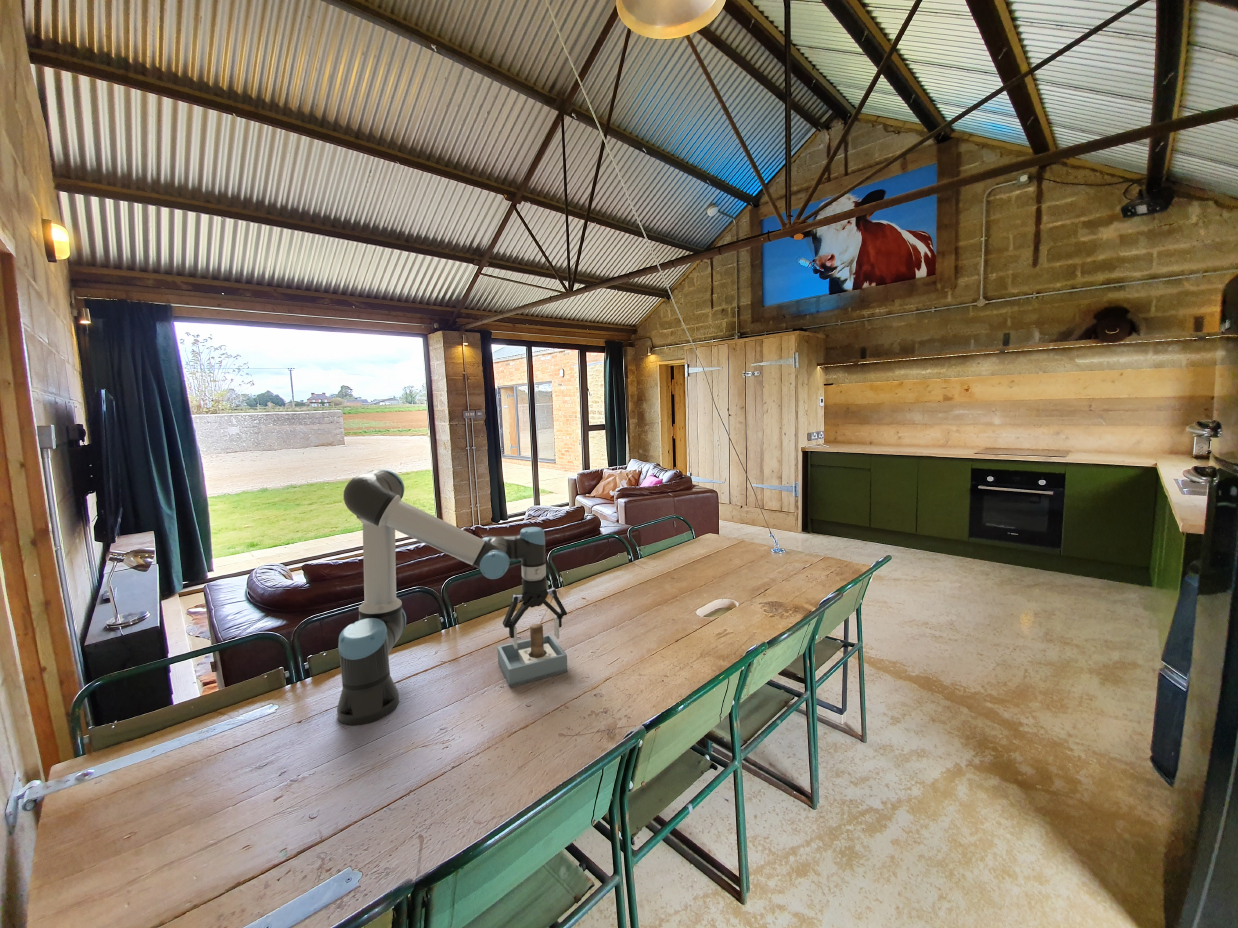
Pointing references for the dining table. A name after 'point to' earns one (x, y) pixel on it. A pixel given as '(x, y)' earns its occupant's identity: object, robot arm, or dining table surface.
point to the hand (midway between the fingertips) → (536, 641)
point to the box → (532, 670)
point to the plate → (526, 658)
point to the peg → (536, 641)
